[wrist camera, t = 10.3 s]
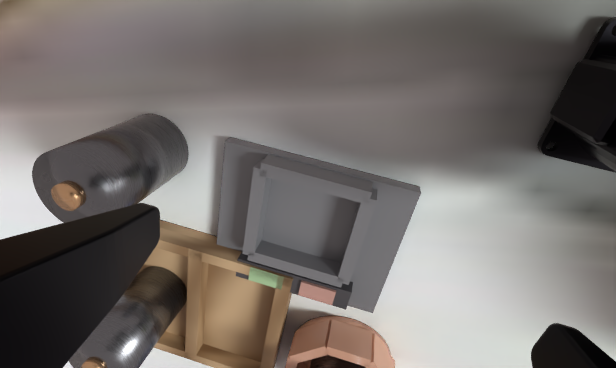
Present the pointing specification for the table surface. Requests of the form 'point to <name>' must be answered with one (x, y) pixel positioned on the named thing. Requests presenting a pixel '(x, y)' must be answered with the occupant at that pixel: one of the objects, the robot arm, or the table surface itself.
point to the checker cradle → (312, 223)
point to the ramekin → (339, 343)
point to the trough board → (219, 303)
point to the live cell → (134, 322)
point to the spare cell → (110, 167)
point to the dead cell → (332, 363)
